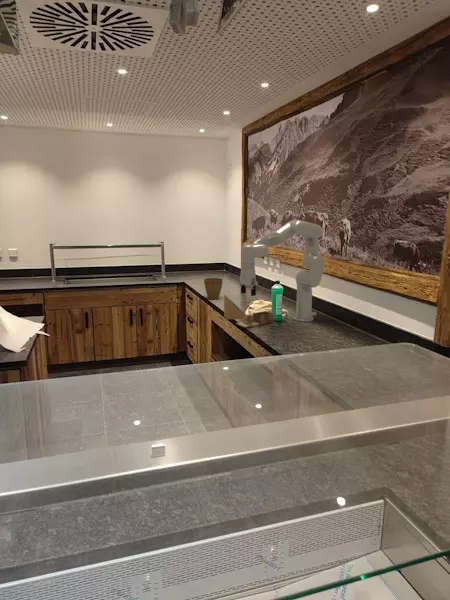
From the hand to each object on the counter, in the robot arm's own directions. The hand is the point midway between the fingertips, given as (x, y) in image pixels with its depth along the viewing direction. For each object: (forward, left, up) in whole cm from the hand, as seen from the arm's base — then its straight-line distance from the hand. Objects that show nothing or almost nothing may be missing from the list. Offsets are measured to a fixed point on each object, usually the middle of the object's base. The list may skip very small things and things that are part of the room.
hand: (248, 294), depth 250 cm
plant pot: (-27, -80, -19) cm, 87 cm away
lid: (0, 0, -18) cm, 18 cm away
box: (-12, 0, -19) cm, 23 cm away
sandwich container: (-7, -21, -20) cm, 29 cm away
